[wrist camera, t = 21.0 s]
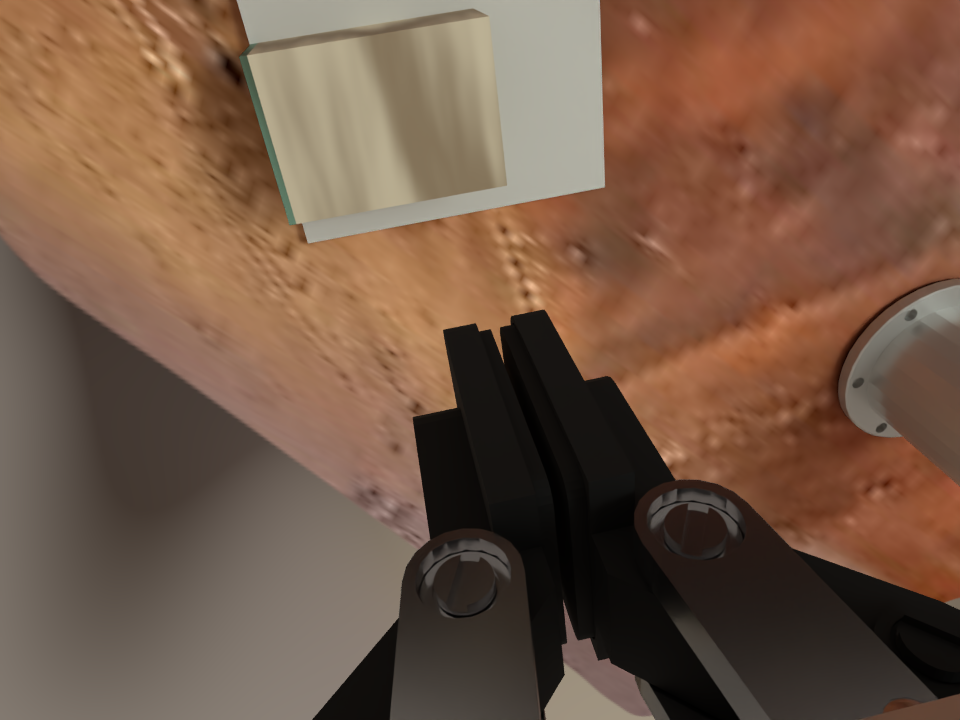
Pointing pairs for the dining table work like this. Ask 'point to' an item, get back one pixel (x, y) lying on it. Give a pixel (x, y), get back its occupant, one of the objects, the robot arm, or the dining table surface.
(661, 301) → the dining table surface
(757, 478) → the dining table surface
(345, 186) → the beige and green box
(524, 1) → the rubber mat
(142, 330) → the dining table surface
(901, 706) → the robot arm
